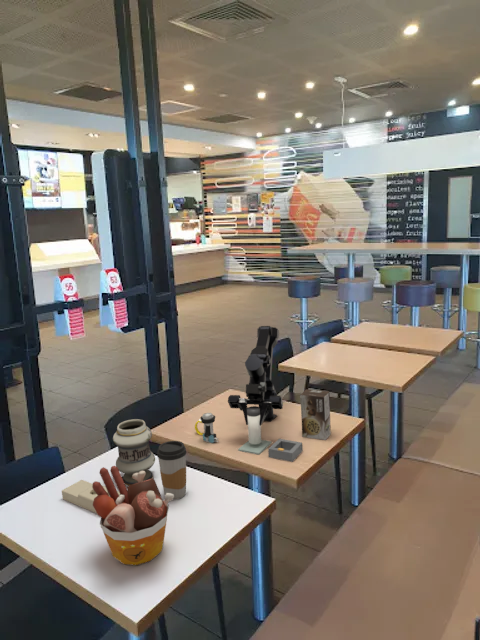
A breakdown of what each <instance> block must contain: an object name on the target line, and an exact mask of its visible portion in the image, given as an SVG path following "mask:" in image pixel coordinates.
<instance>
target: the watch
mask: <svg viewBox="0 0 480 640" xmlns="http://www.w3.org/2000/svg"><path fill="white" fill-rule="evenodd" d="M198 423H201V424H203V423H202V421H201V419H200V418H199V419H198V420H197V421H196V422H195V425H194V430H195V432H196V434H198V436H200V435H201V436H203V433H204V432H201V431H200V430H199V429H198Z"/></svg>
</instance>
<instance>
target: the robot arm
mask: <svg viewBox="0 0 480 640" xmlns="http://www.w3.org/2000/svg"><path fill="white" fill-rule="evenodd" d="M256 332H257V333H256V334H257V335H256V337H257V340H256V345H255V347H254V348H252V349H251V352H250V354H249V355H248V357H247V359H246V360H245V362H244V364H245V365H244V366H245V369H246V371H247V374H248V376H249V382H248V383H247V384H245V395H246V398H243V397H241V395H240V394H230V395H229V396H228V398H227V403H228V405H229V407H230V409H239V411H242V412H243V417H244V422H245V425H246V426H248V418H247V408H248V407H249V406H248V405H253V406H256V405H258V407H259V408H260V426H261V427H262V424H263V423H264V421H266V422H272V421H273V420H274V419H275V418H277V416H278V414H275V413H274V410H283V408H284V404H283V403H284V401H283V397H282V396H281V395H278V393H277V392H276V391H277V390H276V389H275V386H274V383H273V382H272V369H273V352H274V348H275V347H276V346H277V344H278V339H280V330H279V328H277V327H275V326H274V327H273V326H271V325H260V326H259V327H258V328H257V331H256Z"/></svg>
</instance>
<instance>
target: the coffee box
mask: <svg viewBox="0 0 480 640" xmlns="http://www.w3.org/2000/svg"><path fill="white" fill-rule="evenodd" d="M299 398H300V410H301V411H300V413H301V414H300V415H301V417H300V418H301V437H302V438H308V439H309V438H310V439H315V440H324V441H326V440H327V439H328V438H329V437H330V436H331V434H332V431H331V430H332V429H331V428H332V427H331V398H330V391H329V390H328V391H327V390H321V389H320V390H317V389H309V388H308V389H305V390H304V391H303V392H302V393H301V394H300V397H299Z"/></svg>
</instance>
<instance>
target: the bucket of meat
mask: <svg viewBox="0 0 480 640" xmlns="http://www.w3.org/2000/svg"><path fill="white" fill-rule="evenodd" d="M109 471H110V472H109ZM110 473H111V474H110ZM121 474H122V473H121V472H120V471H119V470H118V468H117V467H116V465H112V466H111V467H110V470H108V469H107V468H106V467H101V468H100V469H99V475H100V478H101V479H102V482H103V484H104V485H103V484H101V482H99V481H96V480H95V481H93V482H92V484H93V486H92V488H93V490H94V491H95V492H96V494H97V495H98V496H97V497H95V498H94V501H93V507H94V509H95V510H96V512H97V513H96V514H97V516H99V517H100V521H99V525H100V528H101V530H102V533H103V534H104V538H105V539H106V542H107V545H108V548H109V549H110V552H111V555H112V557H113V558H115V559H116V560H117V561H118V562H120V563H121V564H123V565H125V566H139V565H140V566H141V565H144V564H145V563H147V564H148V563H149V562H151V561H152V560H154V559H155V558H156V557H157V556H158V555H159V554H160V553H161V552H162V551H163V548H164V547H163V546H164V541H165V533H166V527H167V522H168V521H167V520H168V513H169V510H170V509H169V508H170V504H169V502H170V501H174V500H173V498H174V494H171V493H166V495H164V499H163V497H162V494H161V492H160V490H159V486H158V484H157V482H156V479H155V478H154V477H153V478H152V479H148V480H145V481H143V479H144V477H145V475H146V472H145V471H140V472H139V473H134V474H133V475H132V478H133V479H135V480H137V481H138V482H139V483H135V484H132V485H130V486H128V485H125V484H124V481H123V479H122V475H121ZM111 476H112V477H111ZM112 478H113V479H112ZM114 483H115V484H114ZM102 485H103V486H105V487H106V489H107V491H108V493H109V495H108V494H107V492H106V491H105V489H104V488H103V486H102ZM116 487H117V488H116ZM117 489H118V490H117ZM117 491H119V493H120V496H119V494H118V492H117Z"/></svg>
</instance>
